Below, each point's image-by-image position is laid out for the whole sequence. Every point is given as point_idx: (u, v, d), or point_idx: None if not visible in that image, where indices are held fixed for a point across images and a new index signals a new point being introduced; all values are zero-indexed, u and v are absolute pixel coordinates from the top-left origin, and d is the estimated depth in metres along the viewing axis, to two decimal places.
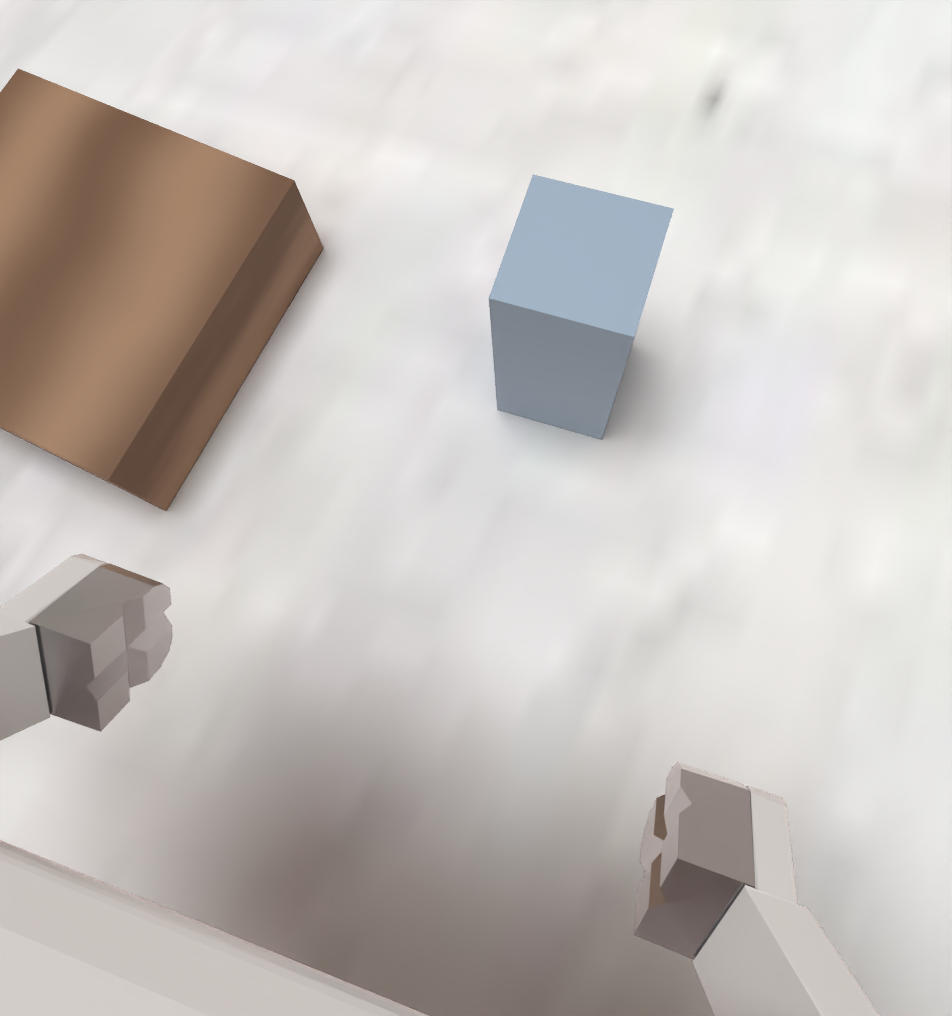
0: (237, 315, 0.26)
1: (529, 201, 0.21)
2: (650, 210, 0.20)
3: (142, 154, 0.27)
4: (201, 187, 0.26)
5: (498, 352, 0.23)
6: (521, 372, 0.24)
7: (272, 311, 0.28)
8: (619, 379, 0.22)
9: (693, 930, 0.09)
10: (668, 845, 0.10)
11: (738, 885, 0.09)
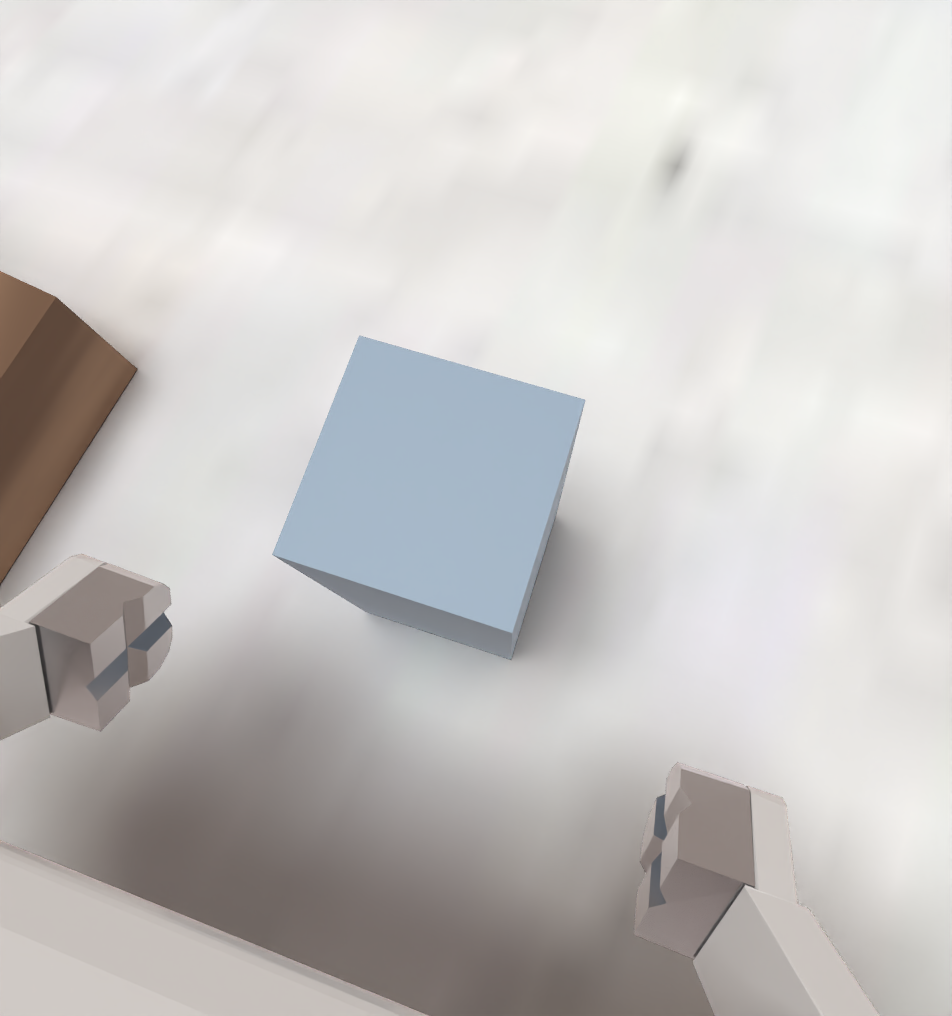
0: None
1: (350, 382, 0.13)
2: (547, 403, 0.12)
3: None
4: None
5: (328, 587, 0.15)
6: (372, 604, 0.16)
7: (51, 467, 0.20)
8: (509, 644, 0.14)
9: (693, 930, 0.09)
10: (668, 845, 0.10)
11: (738, 885, 0.09)
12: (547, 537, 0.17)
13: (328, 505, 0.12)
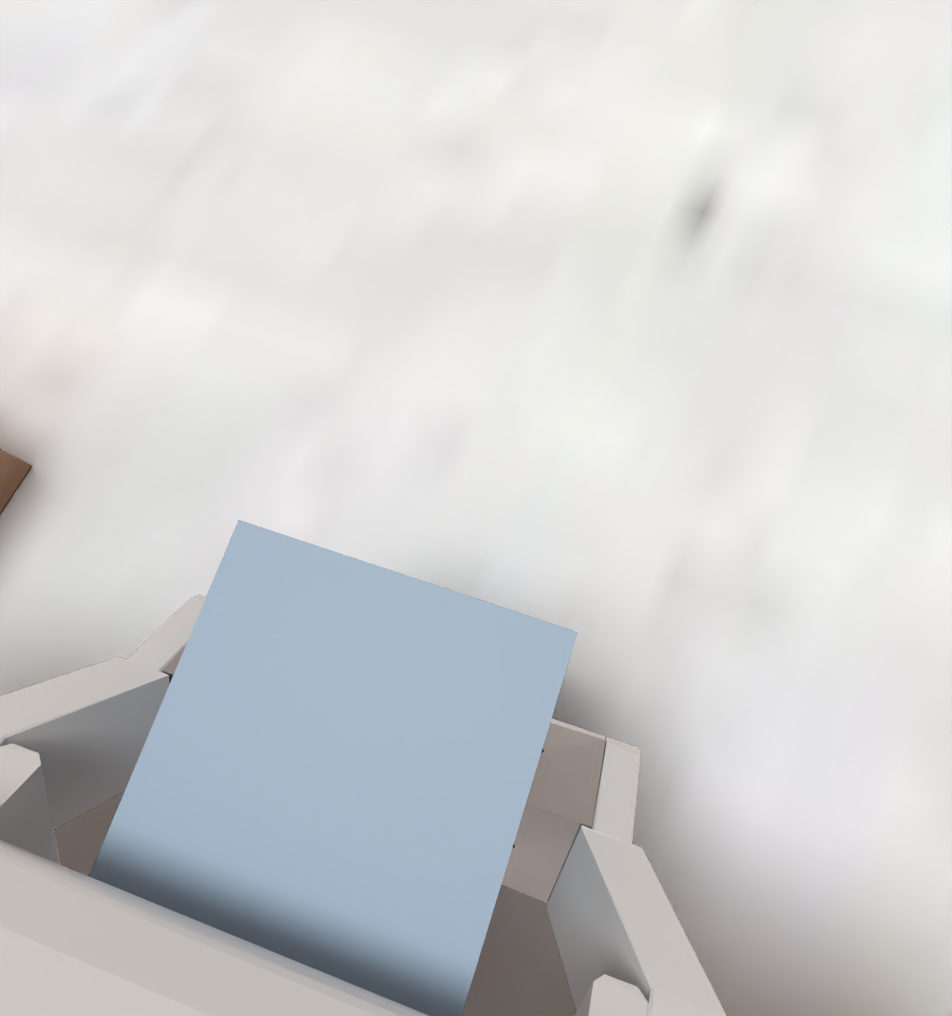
0: None
1: (222, 594, 0.08)
2: (519, 636, 0.08)
3: None
4: None
5: None
6: None
7: None
8: None
9: (543, 873, 0.10)
10: None
11: (576, 826, 0.09)
12: None
13: (177, 800, 0.08)
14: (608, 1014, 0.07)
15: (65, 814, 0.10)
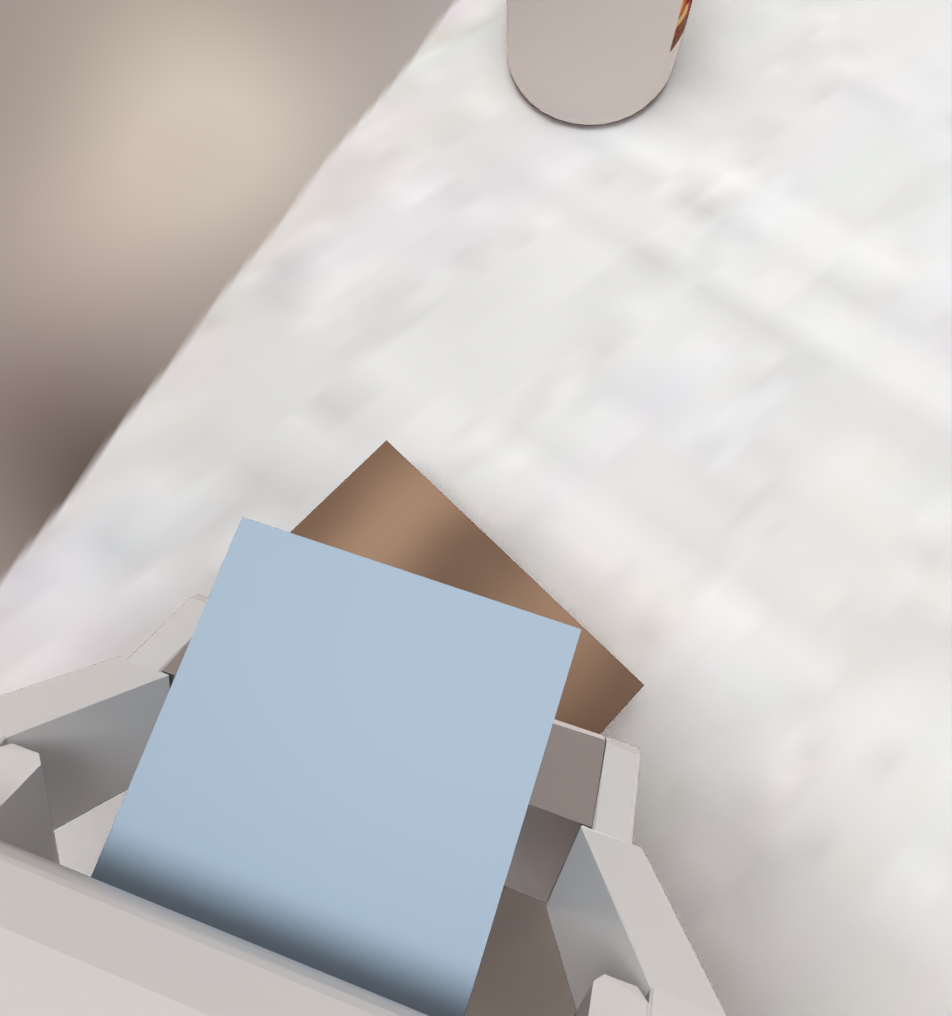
0: None
1: (226, 591, 0.08)
2: (523, 634, 0.08)
3: (491, 593, 0.25)
4: None
5: None
6: None
7: None
8: None
9: (542, 873, 0.10)
10: None
11: (576, 826, 0.09)
12: None
13: (181, 796, 0.08)
14: (608, 1014, 0.07)
15: (65, 814, 0.10)
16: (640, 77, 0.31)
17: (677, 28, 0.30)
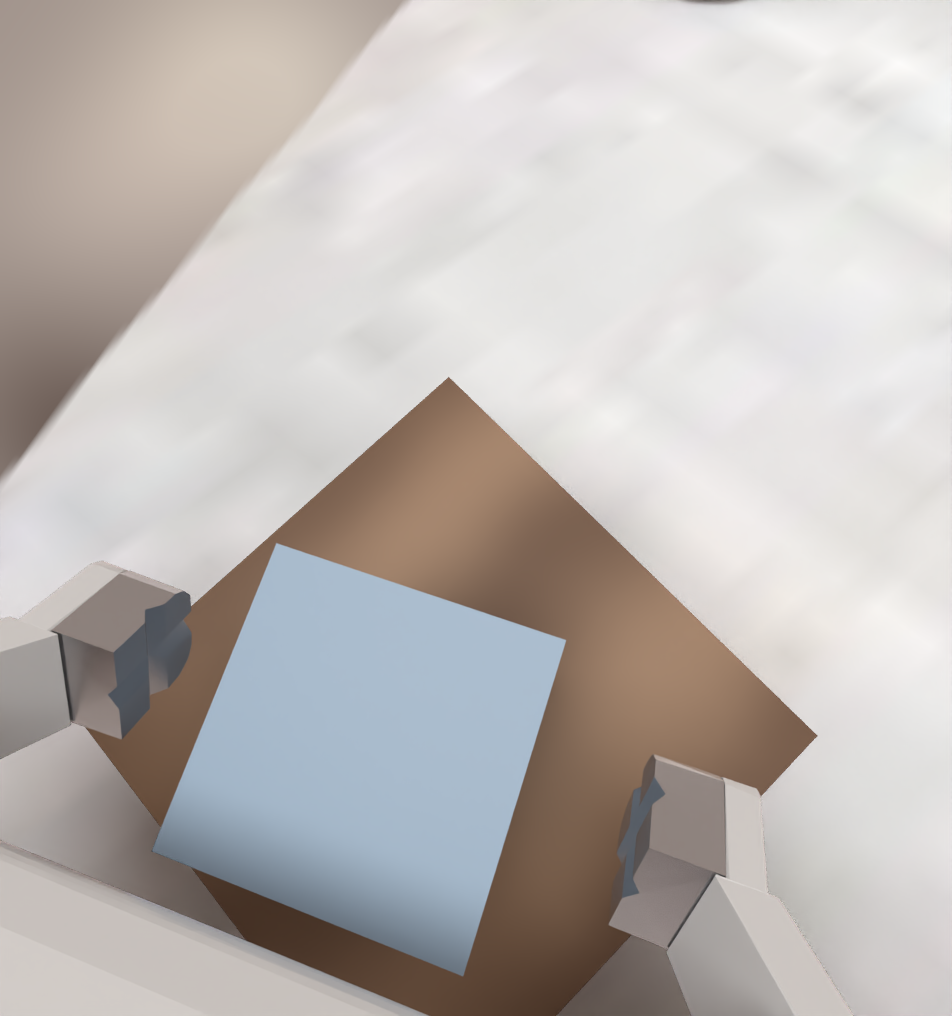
0: None
1: (263, 607, 0.10)
2: (517, 643, 0.09)
3: (594, 594, 0.17)
4: (672, 688, 0.17)
5: None
6: None
7: None
8: None
9: (666, 920, 0.10)
10: (642, 835, 0.10)
11: (709, 874, 0.09)
12: None
13: (227, 782, 0.09)
14: None
15: None
16: None
17: None
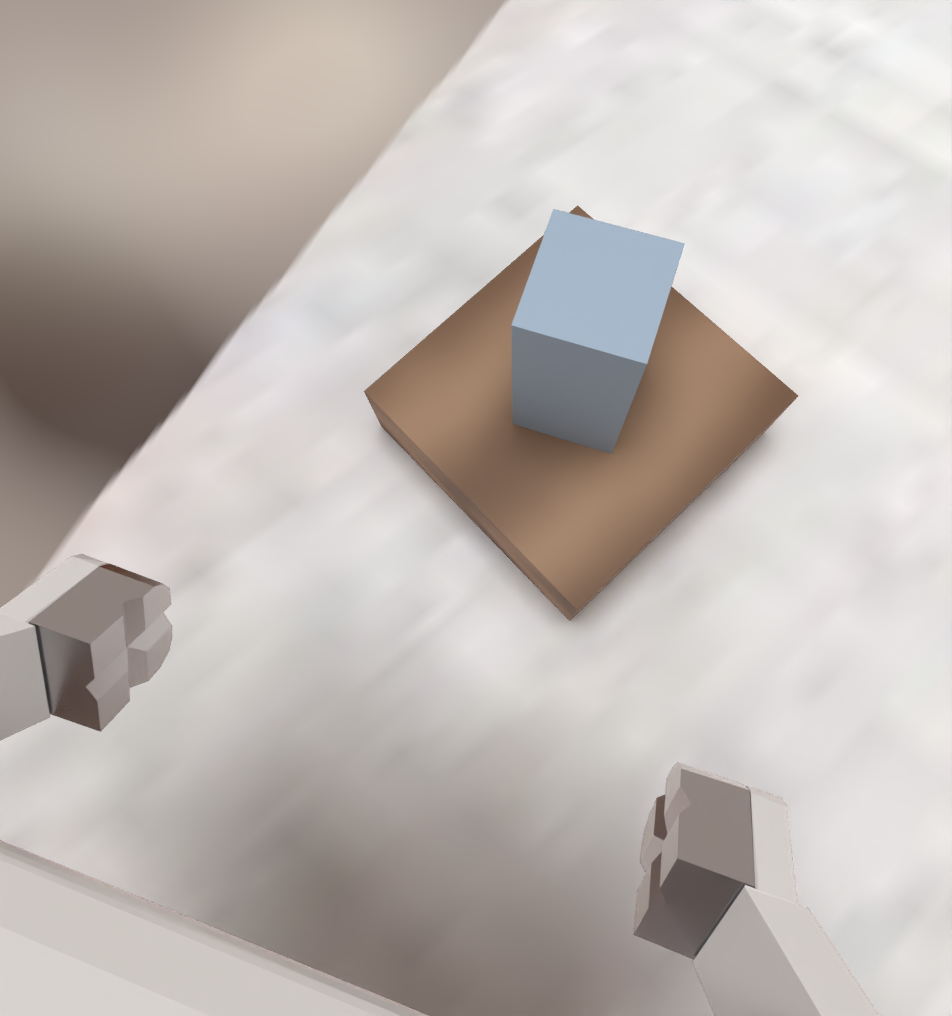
0: None
1: (549, 234, 0.22)
2: (663, 245, 0.22)
3: (668, 324, 0.30)
4: (715, 373, 0.29)
5: (517, 373, 0.24)
6: (537, 391, 0.25)
7: None
8: (631, 400, 0.24)
9: (693, 930, 0.09)
10: (668, 845, 0.10)
11: (738, 885, 0.09)
12: None
13: (541, 299, 0.22)
14: None
15: None
16: None
17: None
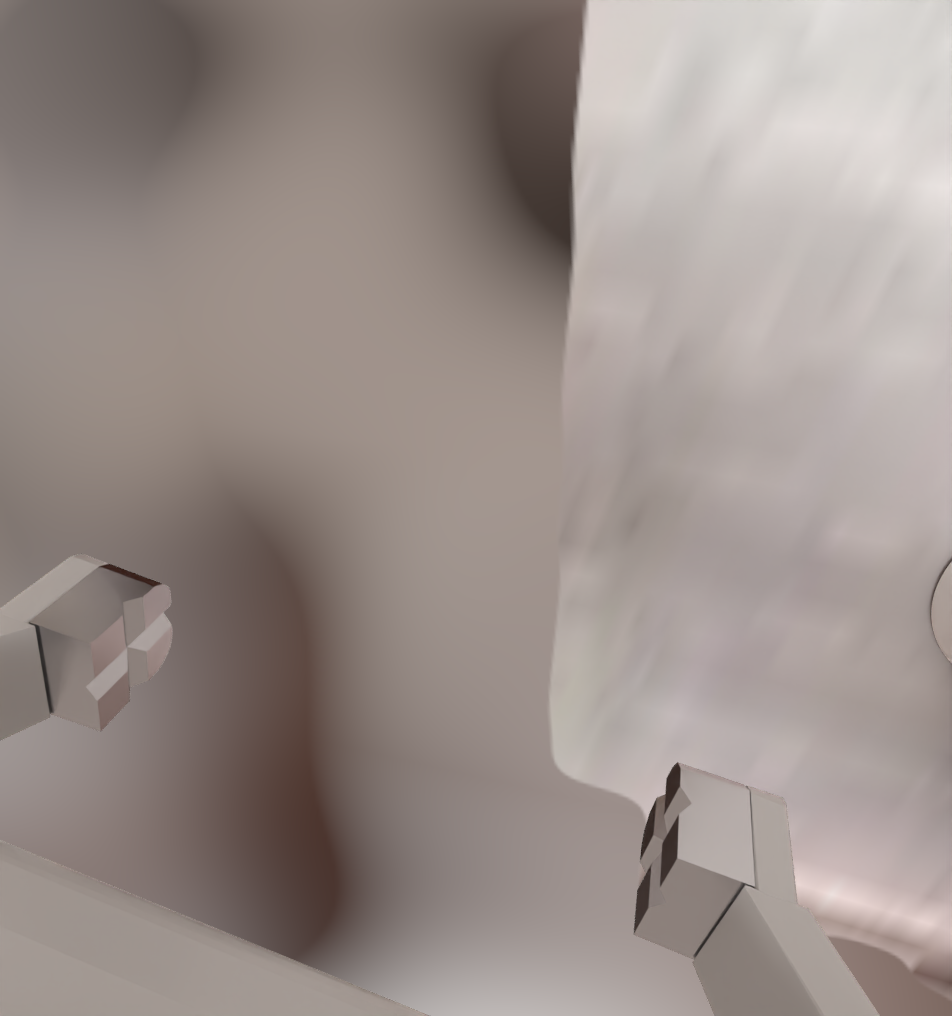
0: None
1: None
2: None
3: None
4: None
5: None
6: None
7: None
8: None
9: (693, 930, 0.09)
10: (668, 845, 0.10)
11: (738, 885, 0.09)
12: None
13: None
14: None
15: None
16: None
17: None
